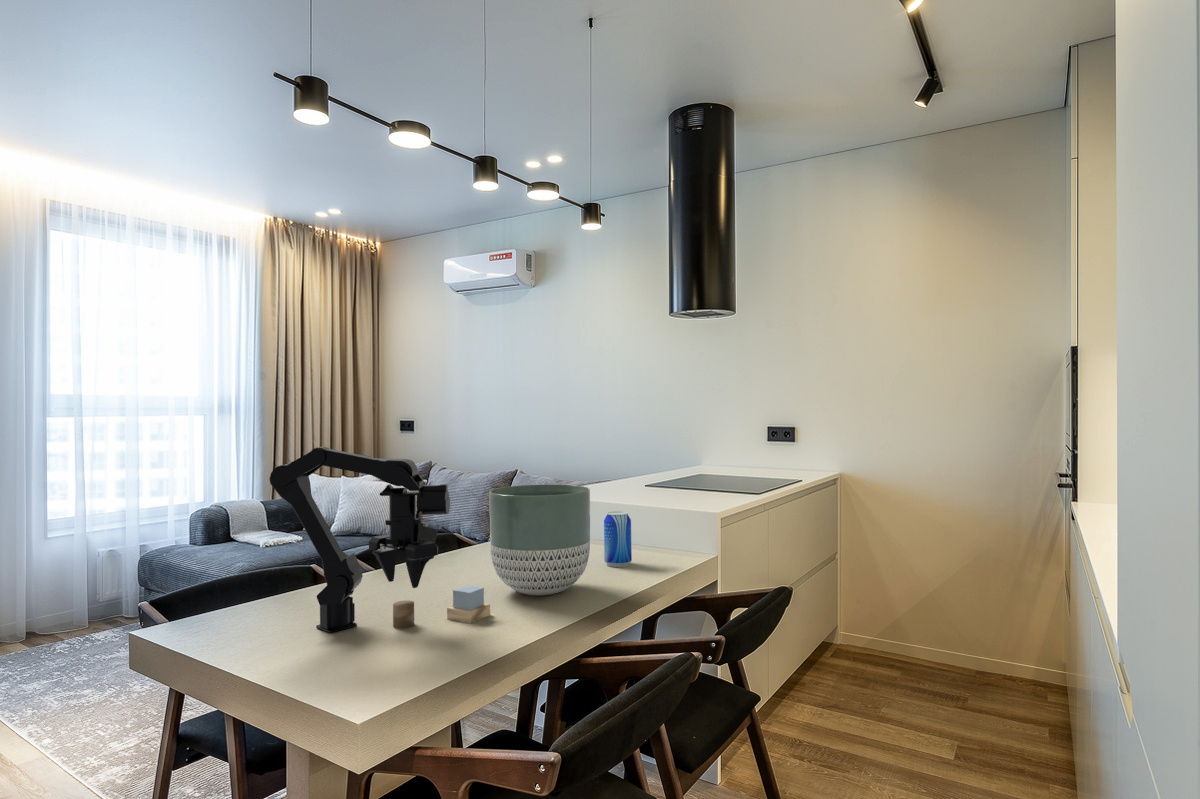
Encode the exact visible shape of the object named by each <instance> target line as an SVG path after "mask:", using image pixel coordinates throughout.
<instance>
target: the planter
mask: <svg viewBox="0 0 1200 799" xmlns="http://www.w3.org/2000/svg"><path fill="white" fill-rule="evenodd" d="M488 505H489V506H488V509H489V536H490V537H489V538H490V542H489V543H490V554H491V555H490V556H491V561H492V562H491V563H492V564H493V569H494V571H495V573H496V575H497V576H498V578H499V579H500V581H502V583H504V584H505V585H506V586H507V587H509V588H510V589H511V590H513V591H515V592H517V593H519V594H524V595H527V596H549V595H554V594H557V593H560V592H563V591H565V590H568V589H569V588H570V587H571V586H573V585H574V584H575V583H576V582H577V581H578V580H579V579H581V577H582V576H583V574H584V573H585V570H586V568H587V565H588V562H589V557H590V550H591V548H590V547H591V542H590V541H591V539H590V538H591V489H590V488H589V487H588V486H583V485H574V484H550V483H549V484H545V483H544V484H524V485H511V486H502V487H498V488H493V489H491V490H489V492H488Z"/></svg>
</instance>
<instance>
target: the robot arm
mask: <svg viewBox="0 0 1200 799" xmlns="http://www.w3.org/2000/svg"><path fill="white" fill-rule="evenodd" d="M322 467H330V468H333V469H339V470H344V471H349V472H353V473H354V472H355V473H358V474H364V475H368V476H371V477H374V478H376V479H378V480H380V481H382V482H384V483H387V485H386V486H385V488H384V489H383V490H382V491H381V492H379V496H380V497H388V498H389V504H388V505H389V507H388V508H389V514H388V515H389V517H388V518H389V519H386V520H385V526H388V527H389V529H388V530H389V533H388V534H382V535H381V534H380V535H376V536H372V537H371V538H370V539H369V541H368V550H369V551H371V552H372V553H371V554H373V555H374V557H375V558H376V560H377V561H378V563H379V565H380V567H381V569H382V571H383V574H384V575H385V578H386V580H387V581H388V582H389V583H391V582H394V580H395V574H396V573H395V572H396V560H397V556H398V555H399V553H400V551H404V554H405V556H406V557H407V558H404V561H405V565H406V568H407V569H406V570H407V572H408V573H407V574H408V576H409V580H410V584H411V586H412V589H417V588H418V587H419V585H420V581H421V578H422V575H423V572H424V569H425V567H426V565H427V563H429V561H430V560H433V559H434V558H435V556H439V545H438V544H437V543H436V540H437V536H438V533H439V529H436V528H433V527H428V526H424V523H422V521H421V519H420V518H416V517H417V516H416V515H417V513H416V512H417V511H418V512H421V514H422V516H424V515H425V516H426V515H427V516H431V515H432V516H434V515H439V516H440V515H449V514H450V508H451V507H450V506H451V497H450V492H449V488H448V487H449V486H448V483H447V484H446V483H443V484H442V483H441V484H427V483H426V482H425V480H424V479H423V478H422V476H420V474H419V473H418V467H417V465H416V463H415V461H414V460H412V459H409V458H376V457H372V456H366V455H362V454H357V453H352V452H348V451H343V450H338V449H332V448H330V447H328V446H319V447H318V446H317V447H314V448H313V449H311V450H310V451H309V452H307V453H305V454H304V455H303V456H301V457H299V458H296V459H295V460H293V461H291V462H290V463H286V464H282V465H277V466H276V467H275V468H273V469H272V471H271V472H270V476H269V477H268V478H269V484H270V485H271V487H272V488H273V490H275V492H276V493H277V494H278V496H279V497H281V499H283V500H284V501H285V502H286V503H288V504H289V505H290V506H291V507H292V509H293V510H294V513H295V514H296V517H297V518H298V520H299V521H300V523H301V525H302V527H303V529H304V530H305V533H306V534H307V536H308V537H309V539H310V542H311V544H312V545H313V547H314V549H315V550H316V552H317V554H318V556H319V558H320V559H321V562H322V569H323V576H324V577H323V578H324V580H325V582H326V586H325V587H324V588H322V590H321V591H320V592H318V594H316V600H317V602H318V604H319V624H317V625H316V628H317V629H319V630H321V631H325V632H327V633H336V632H339V631H343V630H346V629H351V628H353V627H357V625H358V623H356V622H355V621H356V620H355V618H356V615H355V613H356V612H355V611H356V609H355V603H354V597H352V595H353V594H354V591H355V589H356V588H357V587H358V586H359V585H360V584H361V582H362V580H363V576H364V575H363V572H362V569H363V568H364V567H363V566H362V565H361V564H360V563H359V560H358V559H357V556H356V554H355V553H354V552H353V553H351V554H347V553H345V552H344V551H343V550H342V549H341V547H340V545H339V543H338V541H337V539H336V537H335V536H334V534H333V532H332V530H331V528H330V527H329V525H328V523H327V521H326V519H325V518H324V515H323V514H322V511H321V510H320V509H319V507H318V505H317V504H316V502H315V499H314V498H313V495H312V486H311V481H310V478H309V476H311V475H312V474H314V473H315V472H317V471H318V470H320V468H322ZM393 486H395V487H393Z"/></svg>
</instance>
